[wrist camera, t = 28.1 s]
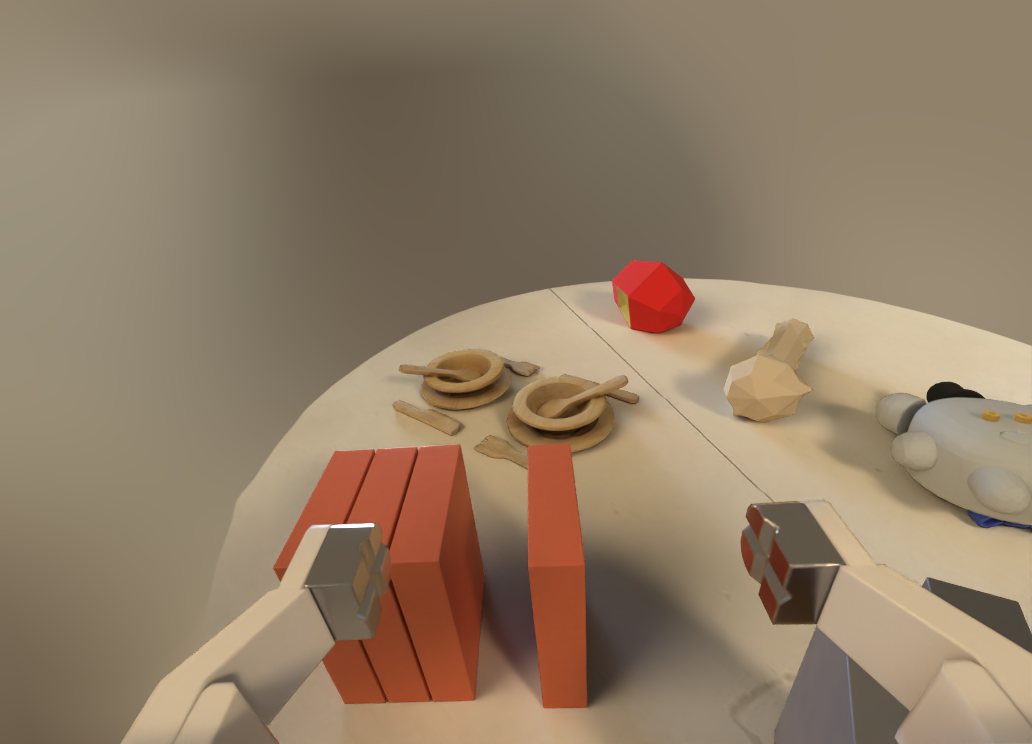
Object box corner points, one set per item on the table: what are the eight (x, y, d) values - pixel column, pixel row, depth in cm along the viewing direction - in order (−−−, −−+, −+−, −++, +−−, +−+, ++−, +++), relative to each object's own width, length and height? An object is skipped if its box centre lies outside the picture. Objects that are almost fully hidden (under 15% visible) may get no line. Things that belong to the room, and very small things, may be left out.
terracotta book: (587, 707, 32) (585, 564, 25) (543, 708, 33) (528, 566, 25) (574, 578, 41) (570, 443, 33) (540, 579, 41) (527, 445, 34)
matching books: (474, 700, 33) (439, 560, 26) (344, 704, 34) (272, 568, 26) (485, 576, 42) (460, 443, 34) (381, 580, 43) (334, 450, 35)
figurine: (1181, 578, 36) (1025, 439, 53) (1247, 488, 32) (1057, 370, 50) (906, 533, 42) (845, 420, 59) (937, 452, 38) (862, 356, 55)
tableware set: (643, 400, 63) (645, 361, 60) (563, 491, 50) (561, 447, 47) (476, 350, 80) (471, 317, 77) (383, 408, 67) (374, 372, 64)
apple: (644, 353, 76) (587, 307, 86) (696, 336, 82) (638, 294, 91) (665, 288, 69) (600, 246, 78) (721, 273, 74) (654, 235, 84)
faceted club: (702, 413, 58) (754, 339, 75) (772, 451, 54) (810, 364, 72) (734, 355, 52) (782, 290, 70) (814, 393, 49) (844, 314, 66)
